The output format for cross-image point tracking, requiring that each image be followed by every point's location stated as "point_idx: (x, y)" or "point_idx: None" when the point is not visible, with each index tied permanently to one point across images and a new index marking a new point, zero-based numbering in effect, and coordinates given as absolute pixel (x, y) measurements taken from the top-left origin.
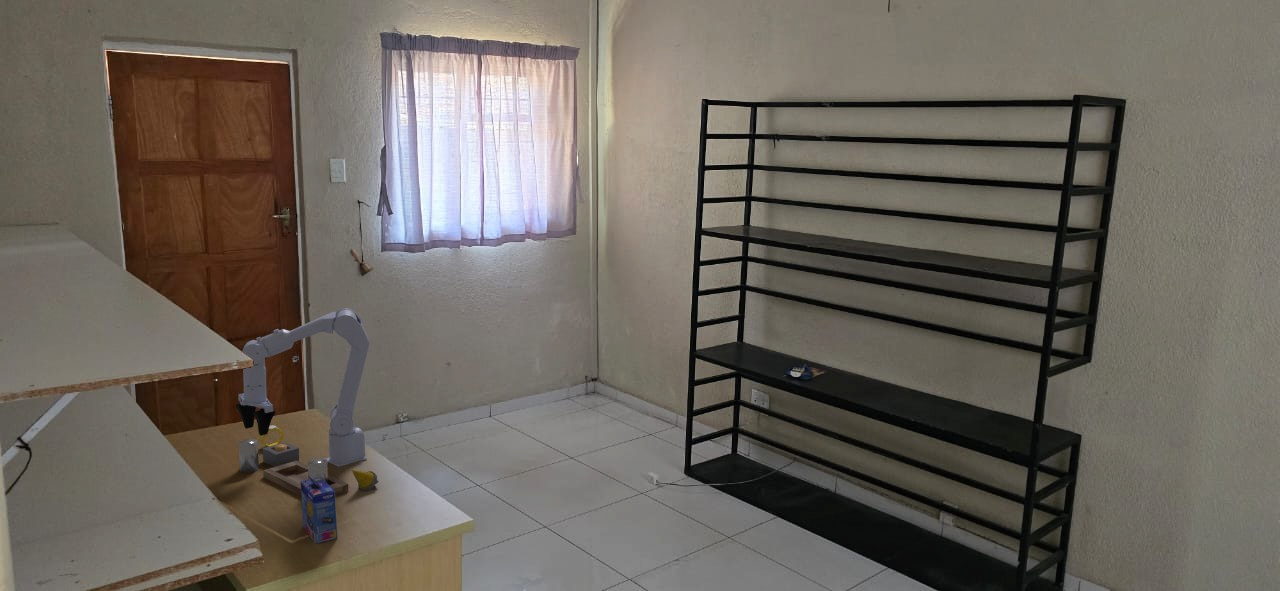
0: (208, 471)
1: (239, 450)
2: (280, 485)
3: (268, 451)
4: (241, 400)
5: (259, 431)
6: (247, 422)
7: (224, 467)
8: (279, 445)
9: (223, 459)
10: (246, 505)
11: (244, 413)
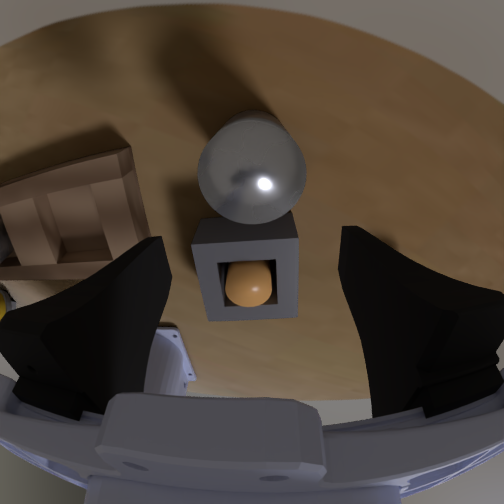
0: (339, 31)
1: (259, 118)
2: (47, 168)
3: (250, 239)
4: (499, 385)
5: (134, 246)
6: (354, 261)
7: (338, 87)
8: (259, 289)
9: (409, 129)
10: (6, 62)
11: (390, 297)
